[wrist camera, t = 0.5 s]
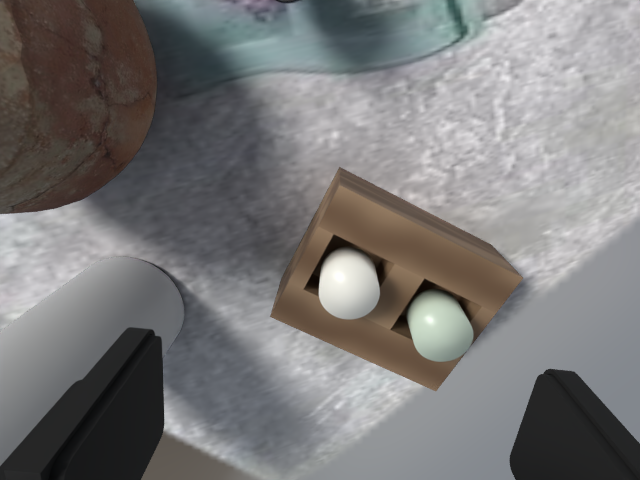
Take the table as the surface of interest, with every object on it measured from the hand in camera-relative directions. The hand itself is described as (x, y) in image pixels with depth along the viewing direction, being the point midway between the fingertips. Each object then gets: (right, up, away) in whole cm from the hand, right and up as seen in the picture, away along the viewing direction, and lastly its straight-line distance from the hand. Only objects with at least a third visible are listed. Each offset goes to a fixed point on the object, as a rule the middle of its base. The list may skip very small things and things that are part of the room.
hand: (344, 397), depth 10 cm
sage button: (+10, -3, +28) cm, 30 cm away
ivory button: (+2, +1, +27) cm, 27 cm away
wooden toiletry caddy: (+6, +2, +34) cm, 35 cm away
